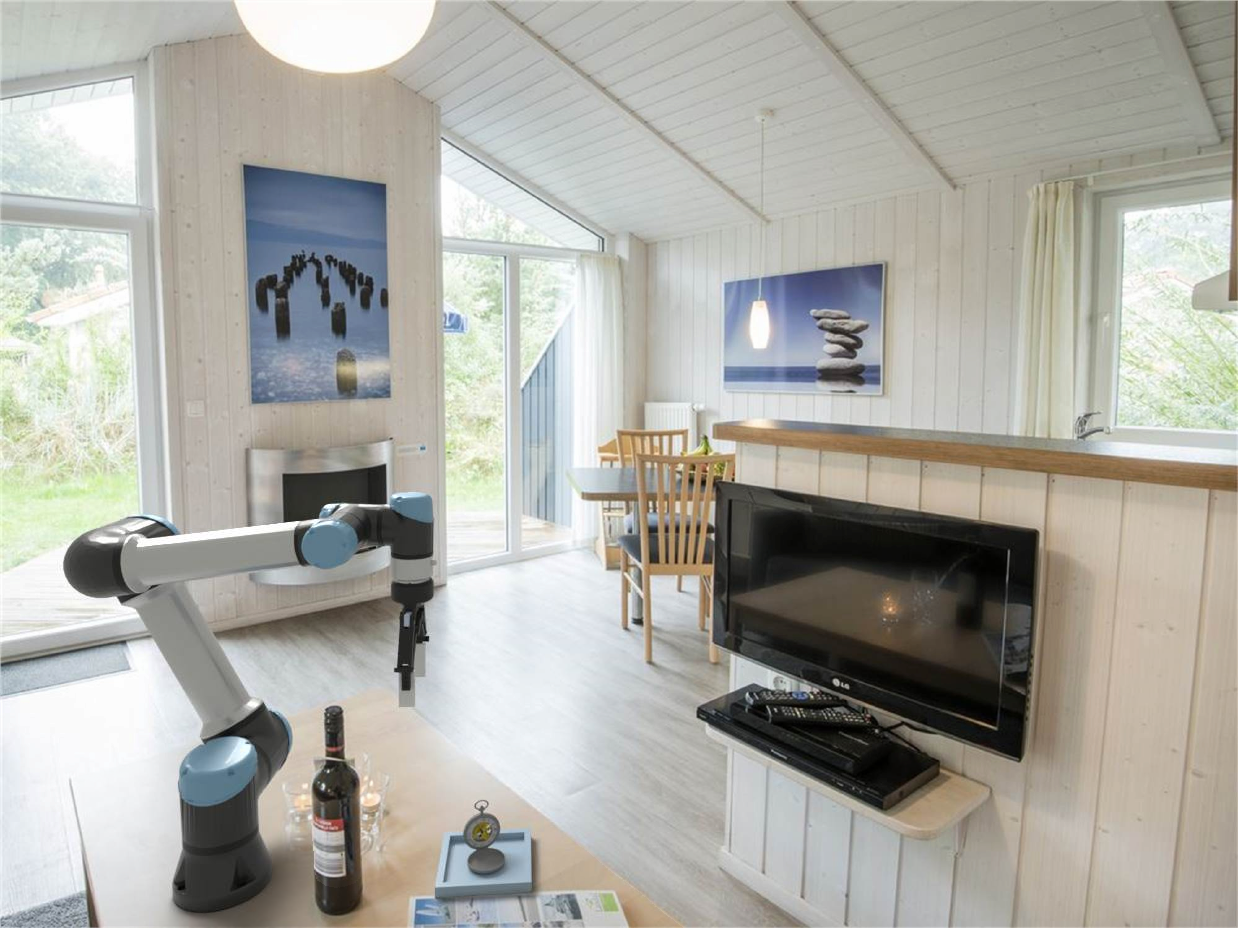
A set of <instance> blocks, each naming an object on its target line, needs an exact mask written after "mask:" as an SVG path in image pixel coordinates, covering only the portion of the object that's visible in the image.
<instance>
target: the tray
mask: <svg viewBox="0 0 1238 928" xmlns="http://www.w3.org/2000/svg"><path fill="white" fill-rule="evenodd" d="M531 828H532V827H527V828H526V827H525V828H508V829H507V828H505V829H500V833H499V836H498V838H497V840H496V841H495V842H494V843H493V844H492V845H490V846H489V847H488V848H494V849H498V850H500V851H501V852H502V853H503V854H504V856H505V862H504V865H503V866H502V867H501V868H500V869H498V870H497V871H494V872H492V873H486V874H481V873H476V872H474V871H472V870H471V869H469V867H468V865H467V859H468V857H469V855H470V854H471V853H473V852H474V851H476V849H472V848H470V847H469V846H468V845H467V844H466V843H465V841H464V838H463V831H464V830H462V831H444V832H443V836H442V843H441V848H440V855H439V861H438V866H437V874H436V878H435V885H434V898H450V897H452V898H453V897H467V896H468V897H469V896H483V895H484V896H485V895H486V896H487V895H502V894H517V893H518V894H520V893H531V892H532V830H531ZM487 831H488V830H487ZM490 831H491V829H490V830H489V831H488V833H490ZM480 834H481V833H480ZM480 834H479V833H478V834H477V836H478V835H480ZM472 835H473V834H472ZM486 835H487V834H486ZM473 836H474V837H475V835H473ZM476 838H477V839H481V837H480V838H479V837H476ZM476 838H475V839H476ZM482 839H483V838H482Z"/></svg>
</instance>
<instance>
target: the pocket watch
mask: <svg viewBox="0 0 1238 928" xmlns="http://www.w3.org/2000/svg"><path fill="white" fill-rule="evenodd" d="M479 802H485V803H486V805H485V807H484V805H483V804H482V805H480V807H479V808H478V807H477V805H478V803H479ZM489 804H490V803H489V801H488V800H486V799H479V800H478V801H477V802H475V803H474V805H473V806H474V809H476V810H477V811H478V812H479V813H477V814H475V815H473V816H471V817H470V818H469V819H468V820H467V821H466V823H465V825H464V828H463V830H462V831H463V838H464V841H465V843H466V844H467V845H468V846H469V847H470V848H472V849H476V851H474V852H473V853H471V854H470V855H469V857H468V859H467V865H468V867H469V869H471V870H472V871H474V872H476V873H481V874H486V873H492V872H494V871H497V870H498V869H500V868H501V867H502V866H503V865H504V862H505V856H504V854H503V853H502V852H501V851H500V850H498V849H494V848H488V847H489V846H490V845H492V844H493V843H494V842H495V841H496V840H497V838H498V836H499V833H500V830H501V824H500V821H499V819H498V818H497V817H496V816H495V815H494V814H492V813H489V812H484V811H485V810H486V809H487V808H488V807H489ZM487 830H488V831H489V830H491V831H490V833H488V831H487ZM478 833H479V834H480V833H481V834H480V835H478V836H477V834H478ZM472 834H473V835H475V837H474V836H473V835H472ZM486 834H487V835H486ZM476 837H479V838H480V837H481V839H477V838H476ZM475 838H476V839H475ZM482 838H483V839H482Z"/></svg>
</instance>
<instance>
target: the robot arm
mask: <svg viewBox="0 0 1238 928" xmlns="http://www.w3.org/2000/svg"><path fill="white" fill-rule="evenodd" d="M389 498H390V500H389V502H388V503H386V504H385V503H383V504H373V503H371V504H369V503H347V502H340V503H329V504H328V503H327V504H326V505H324V506H323V507H322V508H321V511H320V513H319V516H318V518H316V519H306V520H299V521H298V520H297V521H290V522H289V521H288V522H281V523H280V522H279V523H275V524H274V523H273V524H267V525H266V524H263V525H256V526H255V525H254V526H246V527H237V528H230V529H221V530H220V529H219V530H213V531H205V532H204V531H202V532H195V533H186V534H181V532H180V531H179V530H178V528H177V527H176V526H175V525H174V524H173V523H171V522H170V521H169V520H167V519H166V518H163V517H161V516H157V515H153V514H138V515H132V516H127V517H124V518H120V519H119V520H117V521H114V522H111V523H108V524H106V525H103V526H100V527H96V528H93V529H91V530H88V531H86V532H84V533H82V534H81V535H79V536H78V537H77V538H75V539H74V540H73V541H72V542H71V544H70V545H69V546H68V548H67V549H66V552H65V553H64V557H63V561H62V571H63V572H64V577H65V579H66V581H67V583H68V584H69V585H70V586H71V588H73V589H74V590H75V591H77V592H78V593H80V594H82V595H83V596H86V597H89V598H94V599H110V598H117V600H118V601H119V603H120V605H121V606H123V607H128V608H132V609H135V610H136V612H137V614H138V615H139V618H140V620H142V623H143V624H144V626H145V628H146V629H147V631H148V632H149V634H150V636H151V638H152V639H153V641H154V643H155V644H156V646H157V647H158V650H159V652H160V653H161V654H162V657H163V658H164V660H165V661H166V663H167V665H168V667H169V668H170V670H171V671H172V673H173V675H174V677H175V679H176V680H177V682H178V683H179V685H180V686H181V688H182V690H183V692H184V693H185V695H186V697H187V699H188V700H189V702H190V704H191V706H192V707H193V709H194V711H195V712H196V714H197V716H198V717H199V719H200V721H201V722H202V727H201V730H200V733H199V738H200V740H201V741H202V744H199V745H197V746H196V747H195V748H193V749H192V750H190V751H189V752H188V753H187V754H185V755H186V756H184V757H183V760H182V761H181V763H180V765H179V771H178V781H177V790H178V794H179V808H180V809H179V810H180V811H179V812H180V824H181V825H180V827H181V828H180V830H181V840H182V841H181V844H182V845H181V847H182V849H181V853H180V856H179V859H178V863H177V866H176V869H175V872H174V874H173V878H172V883H171V886H172V887H171V888H172V899H173V901H174V903H175V905H177V907H179V908H181V909H183V910H186V911H189V912H196V913H209V912H216V911H217V912H218V911H220V910H225V909H228V908H229V909H230V908H232V907H234V906H236V905H239V904H242V903H244V902H246V901H248V900H249V899H252V898H253V897H254V896H255V895H257V894H259V893H260V892H261V891H262V890H263V889H264V888H265V887H266V886H267V885H268V884H269V881H270V880H271V878H272V873H273V872H272V871H273V870H272V867H273V866H272V857H271V855H270V853H269V852H270V851H269V850H268V848H267V846H266V843H265V841H264V839H263V837H262V835H261V833H260V823H259V822H260V819H259V798H260V796H261V795H262V793H263V792H264V790H265V789H266V788H267V787H268V786H269V784H270V782H271V781H272V780H273V779H274V778H275V775H277V773H278V772H279V771H280V770H281V769H282V768H283V766H284V765H285V763H286V762H287V759H288V757H289V754H290V752H291V750H292V747H293V742H294V741H293V740H294V739H293V729H292V726H291V724H290V722H289V721H288V720H287V718H286V717H285V716H284V715H283V714H282V713H281V712H280V711H278V710H273V709H272V708H270V707H267V706H266V703H265V701H263V699H262V698H261V697H260V698H259V697H255V696H254V697H253V696H251V695H249V692H248V691H247V689H246V687H245V686H244V684H243V682H242V681H241V679H240V678H239V676H238V673H237V672H236V671H235V668H234V667H233V665H232V663H231V661H230V660H229V658H228V656H227V655H226V653H225V651H224V650H223V648H222V646H221V645H220V643H219V641H218V639H217V638H216V636H215V633H213V630H212V629H211V627H210V624H209V623H208V622H207V620H206V619H205V617H204V615H203V614H202V611H201V610H200V608H199V606H198V604H197V603H196V601H195V600H194V598H193V596H192V594H191V593H190V591H189V589H188V587H187V586H186V582H192V581H197V580H198V581H199V580H207V579H214V578H222V577H229V576H238V575H240V576H241V575H247V574H255V573H261V572H272V571H279V570H288V569H295V568H304V567H315V568H317V569H320V570H332V569H335V568H337V567H339V566H342V565H344V564H346V563H347V562H349V560H350V559H351V558H352V557H354V555H355V554H356V553H357V552H358V551H359V550H360V549H362V548H363V547H390V556H389V557H390V560H389V561H390V565H389V566H390V570H389V572H390V577H391V578H392V580H391V581H390V599H391V601H393V602H394V603H396V604H401V605H403V607H402V608H401V611H400V612H399V616H398V619H399V633H398V645H397V647H398V648H397V659H396V660H397V662H396V667H393V672H394V673H396V674H398V708H405V707H406V708H411V707H412V708H415V707H416V678H425V677H426V643H429V642H430V635H427V634H428V631H427V622H426V609H425V603H428V602H430V601H431V600H432V599H433V598H434V595H435V594H434V589H435V587H434V586H435V585H434V579H433V578H432V577H433V576H434V566H436V565H438V562H437V560H436V559H433V558H434V540H435V539H434V533H435V532H434V530H435V528H434V527H435V517H434V506H433V503H434V502H433V499H432V498H433V497H432V496H431V495H429V494H428V493H425V492H418V491H408V492H396V493H394V494H392V495H391V496H390V497H389Z"/></svg>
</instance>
